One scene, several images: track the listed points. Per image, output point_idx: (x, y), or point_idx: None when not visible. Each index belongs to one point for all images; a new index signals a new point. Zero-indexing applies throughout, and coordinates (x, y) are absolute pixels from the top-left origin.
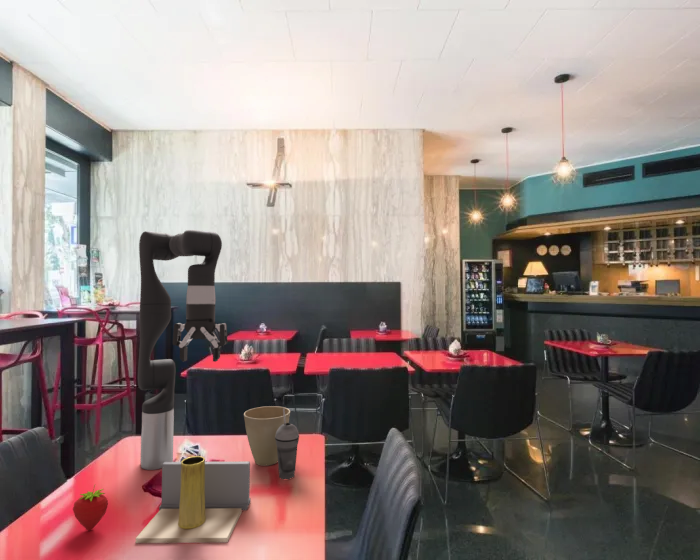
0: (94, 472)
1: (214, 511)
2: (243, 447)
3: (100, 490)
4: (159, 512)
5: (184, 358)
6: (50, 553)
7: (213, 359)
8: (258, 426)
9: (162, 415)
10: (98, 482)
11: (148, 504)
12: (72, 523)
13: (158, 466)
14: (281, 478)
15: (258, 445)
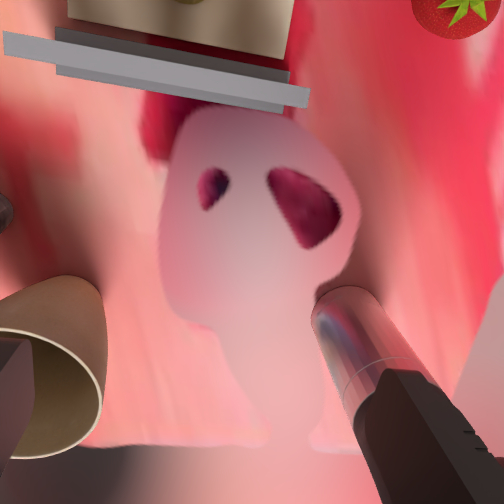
0: (470, 290)
1: (140, 13)
2: (153, 383)
3: (454, 15)
4: (283, 38)
5: (399, 393)
6: None
7: (8, 350)
8: (35, 317)
9: (378, 380)
10: (452, 241)
11: (321, 111)
12: (468, 49)
13: (337, 291)
14: (2, 195)
15: (63, 292)
